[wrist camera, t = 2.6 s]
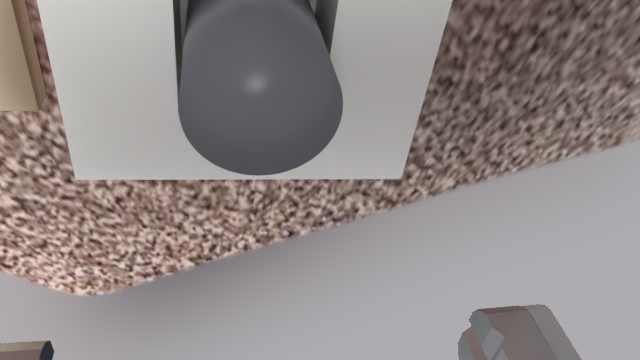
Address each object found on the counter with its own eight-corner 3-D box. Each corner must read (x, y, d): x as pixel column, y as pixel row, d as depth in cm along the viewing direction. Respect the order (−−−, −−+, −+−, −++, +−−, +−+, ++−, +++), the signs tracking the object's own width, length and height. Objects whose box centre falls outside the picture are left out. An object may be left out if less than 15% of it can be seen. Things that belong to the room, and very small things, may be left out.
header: (434, -140, 20) (484, -111, 17) (375, 119, 28) (400, 179, 24) (45, -190, 18) (0, -168, 14) (95, 112, 25) (75, 179, 21)
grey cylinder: (314, -48, 21) (355, 40, 15) (301, 65, 24) (331, 175, 18) (185, -59, 20) (174, 31, 14) (189, 60, 23) (181, 175, 17)
